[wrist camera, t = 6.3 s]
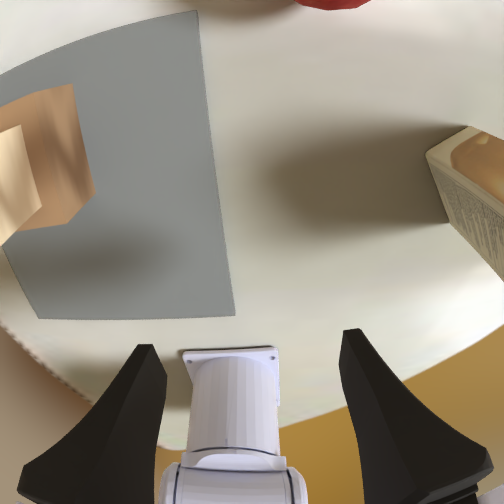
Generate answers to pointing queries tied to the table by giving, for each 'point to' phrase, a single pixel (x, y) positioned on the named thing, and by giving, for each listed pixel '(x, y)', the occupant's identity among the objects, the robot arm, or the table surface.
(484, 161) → the skincare box
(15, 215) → the birch block
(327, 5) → the onion
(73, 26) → the table surface
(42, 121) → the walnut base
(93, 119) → the mat
